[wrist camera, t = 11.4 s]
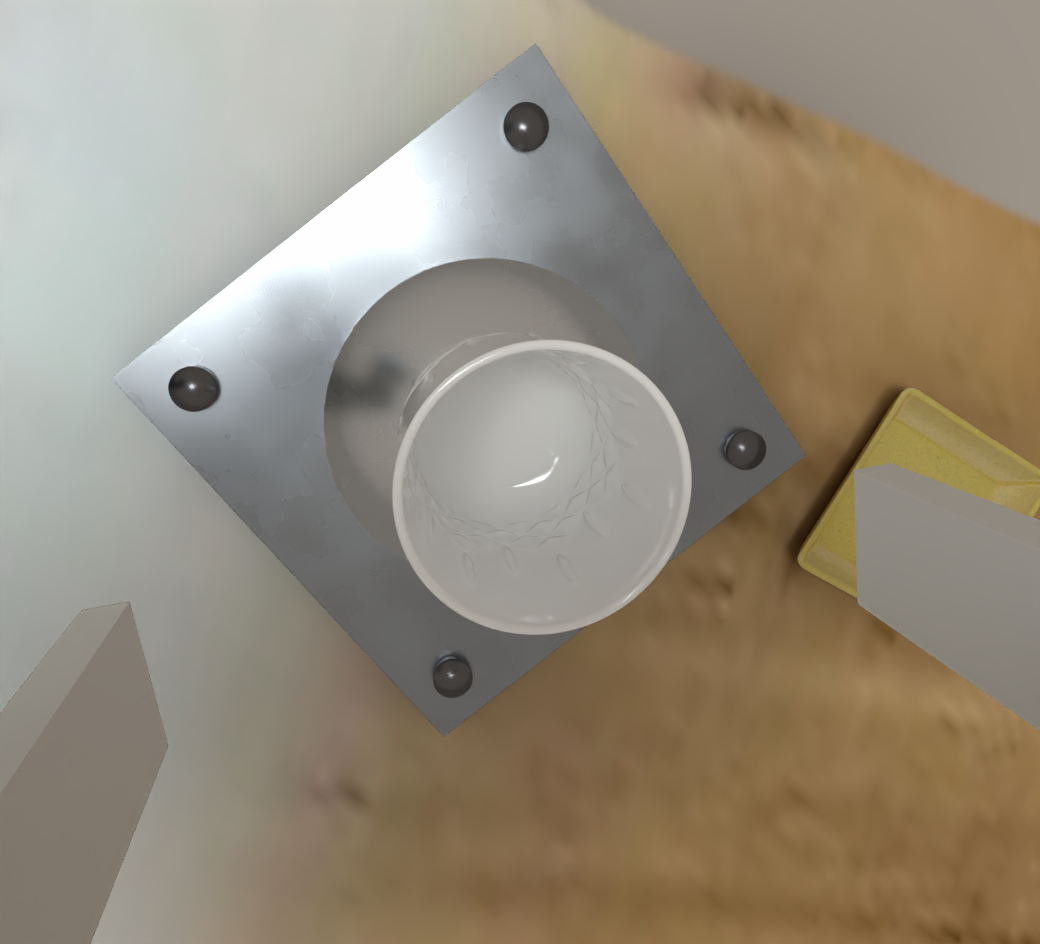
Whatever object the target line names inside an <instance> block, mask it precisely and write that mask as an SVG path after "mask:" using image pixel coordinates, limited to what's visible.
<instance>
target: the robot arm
mask: <svg viewBox="0 0 1040 944" xmlns="http://www.w3.org/2000/svg"><path fill="white" fill-rule="evenodd" d="M854 491H855V529H856V567H857V604H858V605H860V606H861V607H863V608H864V609H865V610H867V611H868V612H870V613H871V614H873V615H874V616H875V617H877V618H878V619H880V620H881V621H883V622H884V623H886V624H887V625H888V626H890V627H891V628H893V629H894V630H896V631H897V632H898V633H900V634H901V635H903V636H904V637H906V638H907V639H909V640H910V641H911V642H913V643H914V644H916V645H917V646H919V647H920V648H922V649H923V650H924V651H926V652H927V653H929V654H930V655H932V656H933V657H934V658H936V659H937V660H939V661H940V662H942V663H943V664H945V665H946V666H947V667H949V668H950V669H952V670H953V671H955V672H956V673H957V674H959V675H960V676H962V677H963V678H965V679H966V680H968V681H969V682H970V683H972V684H973V685H975V686H976V687H978V688H979V689H981V690H982V691H983V692H985V693H986V694H988V695H989V696H991V697H992V698H993V699H995V700H996V701H998V702H999V703H1001V704H1002V705H1004V706H1005V707H1006V708H1008V709H1009V710H1011V711H1012V712H1014V713H1015V714H1016V715H1018V716H1019V717H1021V718H1022V719H1024V720H1025V721H1027V722H1028V723H1029V724H1031V725H1032V726H1034V727H1035V728H1037V729H1038V730H1040V520H1037V519H1035V518H1032V517H1030V516H1027V515H1025V514H1022V513H1019V512H1017V511H1014V510H1012V509H1009V508H1006V507H1004V506H1001V505H999V504H996V503H993V502H991V501H988V500H986V499H983V498H980V497H978V496H975V495H973V494H970V493H967V492H965V491H962V490H960V489H957V488H954V487H952V486H949V485H947V484H944V483H942V482H939V481H936V480H934V479H931V478H929V477H926V476H923V475H921V474H918V473H916V472H913V471H910V470H908V469H905V468H903V467H900V466H897V465H895V464H892V463H889V464H883V465H878V466H872V467H867V468H861V469H856V470H854ZM167 748H168V743H167V739H166V735H165V732H164V728H163V724H162V721H161V717H160V713H159V709H158V706H157V702H156V698H155V694H154V691H153V687H152V683H151V680H150V676H149V672H148V668H147V665H146V661H145V657H144V653H143V650H142V646H141V642H140V639H139V635H138V631H137V627H136V624H135V620H134V616H133V612H132V609H131V605H130V602H125V603H119V604H114V605H108V606H103V607H97V608H92V609H86V610H81V612H80V613H79V614H78V615H77V617H76V618H75V619H74V620H73V622H72V623H71V624H70V626H69V627H68V628H67V629H66V631H65V632H64V633H63V634H62V636H61V637H60V638H59V639H58V641H57V642H56V643H55V644H54V646H53V647H52V648H51V650H50V651H49V652H48V653H47V655H46V656H45V657H44V658H43V660H42V661H41V662H40V663H39V665H38V666H37V667H36V669H35V670H34V671H33V672H32V674H31V675H30V676H29V677H28V679H27V680H26V681H25V682H24V684H23V685H22V686H21V687H20V689H19V690H18V691H17V693H16V694H15V695H14V696H13V698H12V699H11V700H10V701H9V703H8V704H7V705H6V706H5V708H4V709H3V710H2V712H1V713H0V944H91V941H92V939H93V936H94V933H95V931H96V928H97V926H98V923H99V921H100V918H101V916H102V913H103V911H104V908H105V906H106V903H107V900H108V898H109V895H110V893H111V890H112V888H113V885H114V883H115V880H116V878H117V875H118V872H119V870H120V867H121V865H122V862H123V860H124V857H125V855H126V852H127V850H128V847H129V844H130V842H131V839H132V837H133V834H134V832H135V829H136V827H137V824H138V822H139V819H140V816H141V814H142V811H143V809H144V806H145V804H146V801H147V799H148V796H149V794H150V791H151V789H152V786H153V783H154V781H155V778H156V776H157V773H158V771H159V768H160V766H161V763H162V761H163V758H164V755H165V753H166V750H167Z"/></svg>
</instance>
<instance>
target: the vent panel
mask: <svg viewBox="0 0 1040 944" xmlns="http://www.w3.org/2000/svg"><path fill="white" fill-rule="evenodd" d="M498 332H520V333H533V334H540V335H545V336H549V337H554V338H559V339H563V340H568V341H574V342H579V343H584V344H588V345H591V346H595V347H598V348H600V349H603V350H606V351H608V352H610V353H612V354H614V355H616V356H618V357H620V358H622V359H624V360H625V361H627V362H628V363H630V364H631V365H633V366H634V367H636V368H637V369H638V370H640V371H641V372H642V373H643V374H644V375H646V376H647V377H648V378H649V379H650V380H651V381H652V382H653V383H654V384H655V385H656V386H657V388H658V389H659V390H660V391H661V392H662V394H663V395H664V396H665V398H666V399H667V401H668V402H669V404H670V405H671V407H672V408H673V410H674V412H675V414H676V416H677V418H678V420H679V422H680V424H681V427H682V429H683V432H684V435H685V438H686V441H687V445H688V449H689V454H690V461H691V471H692V488H691V499H690V505H689V510H688V515H687V519H686V522H685V525H684V528H683V531H682V534H681V536H680V539H679V541H678V543H677V545H676V547H675V549H674V551H673V553H672V555H671V556H670V558H669V560H668V561H667V563H668V562H669V561H670V560H672V559H673V558H674V557H676V556H677V555H678V554H679V553H681V552H682V551H683V550H685V549H686V548H687V547H689V546H690V545H691V544H692V543H694V542H695V541H696V540H698V539H699V538H700V537H701V536H703V535H704V534H705V533H707V532H708V531H709V530H710V529H712V528H713V527H714V526H716V525H717V524H718V523H719V522H721V521H722V520H723V519H725V518H726V517H727V516H728V515H730V514H731V513H732V512H734V511H735V510H736V509H737V508H739V507H740V506H741V505H743V504H744V503H745V502H746V501H748V500H749V499H750V498H752V497H753V496H754V495H755V494H757V493H758V492H759V491H761V490H762V489H763V488H764V487H766V486H767V485H768V484H770V483H771V482H772V481H773V480H775V479H776V478H777V477H779V476H780V475H781V474H782V473H784V472H785V471H786V470H788V469H789V468H790V467H791V466H793V465H794V464H795V463H797V462H798V461H799V460H801V459H802V458H803V457H804V456H806V455H805V453H804V452H803V450H802V449H801V447H800V446H799V444H798V443H797V441H796V440H795V438H794V437H793V435H792V434H791V432H790V431H789V429H788V427H787V426H786V424H785V423H784V421H783V420H782V418H781V417H780V415H779V414H778V412H777V411H776V409H775V408H774V406H773V405H772V403H771V402H770V400H769V398H768V397H767V395H766V394H765V392H764V391H763V389H762V388H761V386H760V385H759V383H758V382H757V380H756V379H755V377H754V376H753V374H752V373H751V371H750V369H749V368H748V366H747V365H746V363H745V362H744V360H743V359H742V357H741V356H740V354H739V353H738V351H737V350H736V348H735V347H734V345H733V344H732V342H731V341H730V339H729V337H728V336H727V334H726V333H725V331H724V330H723V328H722V327H721V325H720V324H719V322H718V321H717V319H716V318H715V316H714V315H713V313H712V312H711V310H710V308H709V307H708V305H707V304H706V302H705V301H704V299H703V298H702V296H701V295H700V293H699V292H698V290H697V289H696V287H695V286H694V284H693V283H692V281H691V279H690V278H689V276H688V275H687V273H686V272H685V270H684V269H683V267H682V266H681V264H680V263H679V261H678V260H677V258H676V257H675V255H674V254H673V252H672V250H671V249H670V247H669V246H668V244H667V243H666V241H665V240H664V238H663V237H662V235H661V234H660V232H659V231H658V229H657V228H656V226H655V225H654V223H653V221H652V220H651V218H650V217H649V215H648V214H647V212H646V211H645V209H644V208H643V206H642V205H641V203H640V202H639V200H638V199H637V197H636V196H635V194H634V192H633V191H632V189H631V188H630V186H629V185H628V183H627V182H626V180H625V179H624V177H623V176H622V174H621V173H620V171H619V170H618V168H617V167H616V165H615V164H614V162H613V160H612V159H611V157H610V156H609V154H608V153H607V151H606V150H605V148H604V147H603V145H602V144H601V142H600V141H599V139H598V138H597V136H596V135H595V133H594V131H593V130H592V128H591V127H590V125H589V124H588V122H587V121H586V119H585V118H584V116H583V115H582V113H581V112H580V110H579V109H578V107H577V106H576V104H575V102H574V101H573V99H572V98H571V96H570V95H569V93H568V92H567V90H566V89H565V87H564V86H563V84H562V83H561V81H560V80H559V78H558V77H557V75H556V73H555V72H554V70H553V69H552V67H551V66H550V64H549V63H548V61H547V60H546V58H545V57H544V55H543V54H542V52H541V51H540V49H539V48H538V46H537V44H536V43H535V44H534V45H533V46H532V47H530V48H529V49H528V50H527V51H525V52H524V53H523V54H521V55H520V56H519V57H518V58H516V59H515V60H514V61H513V62H511V63H510V64H509V65H507V66H506V67H505V68H504V69H502V70H501V71H500V72H499V73H497V74H496V75H495V76H494V77H492V78H491V79H490V80H488V81H487V82H486V83H485V84H483V85H482V86H481V87H480V88H478V89H477V90H476V91H474V92H473V93H472V94H471V95H469V96H468V97H467V98H466V99H464V100H463V101H462V102H461V103H459V104H458V105H457V106H455V107H454V108H453V109H452V110H450V111H449V112H448V113H447V114H445V115H444V116H443V117H442V118H440V119H439V120H438V121H436V122H435V123H434V124H433V125H431V126H430V127H429V128H428V129H426V130H425V131H424V132H422V133H421V134H420V135H419V136H417V137H416V138H415V139H414V140H412V141H411V142H410V143H409V144H407V145H406V146H405V147H403V148H402V149H401V150H400V151H398V152H397V153H396V154H395V155H393V156H392V157H391V158H389V159H388V160H387V161H386V162H384V163H383V164H382V165H381V166H379V167H378V168H377V169H376V170H374V171H373V172H372V173H370V174H369V175H368V176H367V177H365V178H364V179H363V180H362V181H360V182H359V183H358V184H356V185H355V186H354V187H353V188H351V189H350V190H349V191H348V192H346V193H345V194H344V195H343V196H341V197H340V198H339V199H337V200H336V201H335V202H334V203H332V204H331V205H330V206H329V207H327V208H326V209H325V210H324V211H322V212H321V213H320V214H318V215H317V216H316V217H315V218H313V219H312V220H311V221H310V222H308V223H307V224H306V225H304V226H303V227H302V228H301V229H299V230H298V231H297V232H296V233H294V234H293V235H292V236H291V237H289V238H288V239H287V240H285V241H284V242H283V243H282V244H280V245H279V246H278V247H277V248H275V249H274V250H273V251H271V252H270V253H269V254H268V255H266V256H265V257H264V258H263V259H261V260H260V261H259V262H258V263H256V264H255V265H254V266H252V267H251V268H250V269H249V270H247V271H246V272H245V273H244V274H242V275H241V276H240V277H239V278H237V279H236V280H235V281H233V282H232V283H231V284H230V285H228V286H227V287H226V288H225V289H223V290H222V291H221V292H219V293H218V294H217V295H216V296H214V297H213V298H212V299H211V300H209V301H208V302H207V303H206V304H204V305H203V306H202V307H200V308H199V309H198V310H197V311H195V312H194V313H193V314H192V315H190V316H189V317H188V318H186V319H185V320H184V321H183V322H181V323H180V324H179V325H178V326H176V327H175V328H174V329H173V330H171V331H170V332H169V333H167V334H166V335H165V336H164V337H162V338H161V339H160V340H159V341H157V342H156V343H155V344H154V345H152V346H151V347H150V348H148V349H147V350H146V351H145V352H143V353H142V354H141V355H140V356H138V357H137V358H136V359H134V360H133V361H132V362H131V363H129V364H128V365H127V366H126V367H124V368H123V369H122V370H121V371H119V372H118V373H117V374H115V375H114V376H113V377H112V378H111V379H112V380H113V381H114V382H115V383H116V384H117V385H118V386H119V388H120V389H121V390H122V391H123V392H124V393H125V394H126V395H127V396H128V397H129V398H130V399H131V400H132V402H133V403H134V404H135V405H136V406H137V407H138V408H139V409H140V410H141V411H142V412H143V413H144V414H145V416H146V417H147V418H148V419H149V420H150V421H151V422H152V423H153V424H154V425H155V426H156V427H157V428H158V430H159V431H160V432H161V433H162V434H163V435H164V436H165V437H166V438H167V439H168V440H169V441H170V442H171V444H172V445H173V446H174V447H175V448H176V449H177V450H178V451H179V452H180V453H181V454H182V455H183V456H184V458H185V459H186V460H187V461H188V462H189V463H190V464H191V465H192V466H193V467H194V468H195V469H196V470H197V472H198V473H199V474H200V475H201V476H202V477H203V478H204V479H205V480H206V481H207V482H208V483H209V484H210V486H211V487H212V488H213V489H214V490H215V491H216V492H217V493H218V494H219V495H220V496H221V497H222V498H223V500H224V501H225V502H226V503H227V504H228V505H229V506H230V507H231V508H232V509H233V510H234V511H235V512H236V514H237V515H238V516H239V517H240V518H241V519H242V520H243V521H244V522H245V523H246V524H247V525H248V526H249V528H250V529H251V530H252V531H253V532H254V533H255V534H256V535H257V536H258V537H259V538H260V539H261V540H262V542H263V543H264V544H265V545H266V546H267V547H268V548H269V549H270V550H271V551H272V552H273V553H274V554H275V556H276V557H277V558H278V559H279V560H280V561H281V562H282V563H283V564H284V565H285V566H286V567H287V568H288V569H289V571H290V572H291V573H292V574H293V575H294V576H295V577H296V578H297V579H298V580H299V581H300V582H301V583H302V585H303V586H304V587H305V588H306V589H307V590H308V591H309V592H310V593H311V594H312V595H313V596H314V597H315V599H316V600H317V601H318V602H319V603H320V604H321V605H322V606H323V607H324V608H325V609H326V610H327V611H328V613H329V614H330V615H331V616H332V617H333V618H334V619H335V620H336V621H337V622H338V623H339V624H340V625H341V627H342V628H343V629H344V630H345V631H346V632H347V633H348V634H349V635H350V636H351V637H352V638H353V639H354V641H355V642H356V643H357V644H358V645H359V646H360V647H361V648H362V649H363V650H364V651H365V652H366V653H367V655H368V656H369V657H370V658H371V659H372V660H373V661H374V662H375V663H376V664H377V665H378V666H379V667H380V669H381V670H382V671H383V672H384V673H385V674H386V675H387V676H388V677H389V678H390V679H391V680H392V681H393V683H394V684H395V685H396V686H397V687H398V688H399V689H400V690H401V691H402V692H403V693H404V694H405V695H406V697H407V698H408V699H409V700H410V701H411V702H412V703H413V704H414V705H415V706H416V707H417V708H418V709H419V711H420V712H421V713H422V714H423V715H424V716H425V717H426V718H427V719H428V720H429V721H430V722H431V723H432V725H433V726H434V727H435V728H436V729H437V730H438V731H439V732H440V733H441V734H442V735H443V736H445V735H446V734H448V733H449V732H450V731H452V730H453V729H454V728H455V727H457V726H458V725H459V724H461V723H462V722H463V721H464V720H466V719H467V718H468V717H470V716H471V715H472V714H474V713H475V712H476V711H477V710H479V709H480V708H481V707H483V706H484V705H485V704H486V703H488V702H489V701H490V700H492V699H493V698H494V697H495V696H497V695H498V694H499V693H501V692H502V691H503V690H504V689H506V688H507V687H508V686H510V685H511V684H512V683H513V682H515V681H516V680H517V679H519V678H520V677H521V676H522V675H524V674H525V673H526V672H528V671H529V670H530V669H531V668H533V667H534V666H535V665H537V664H538V663H539V662H540V661H542V660H543V659H544V658H546V657H547V656H548V655H549V654H551V653H552V652H553V651H555V650H556V649H557V648H558V647H560V646H561V645H562V644H564V643H565V642H566V641H567V640H569V639H570V638H571V637H573V636H574V635H575V634H576V633H578V632H579V631H580V630H582V629H583V628H584V627H586V626H584V627H581V628H578V629H574V630H570V631H566V632H561V633H554V634H544V635H525V634H515V633H508V632H503V631H499V630H495V629H491V628H488V627H485V626H483V625H480V624H478V623H475V622H473V621H471V620H469V619H467V618H465V617H463V616H462V615H460V614H458V613H457V612H455V611H454V610H452V609H451V608H449V607H448V606H447V605H445V604H444V603H443V602H442V601H440V600H439V599H438V598H437V597H436V596H435V595H434V594H433V593H432V592H431V591H430V590H429V589H428V588H427V587H426V586H425V584H424V583H423V582H422V581H421V579H420V578H419V577H418V575H417V574H416V572H415V571H414V569H413V568H412V566H411V564H410V563H409V561H408V559H407V557H406V555H405V553H404V550H403V548H402V545H401V543H400V540H399V536H398V533H397V529H396V525H395V520H394V514H393V503H392V485H393V474H394V460H395V445H396V436H397V430H398V425H399V420H400V415H401V411H402V408H403V405H404V403H405V401H406V398H407V396H408V393H409V390H410V386H411V383H412V380H413V379H414V378H415V377H416V376H417V374H418V373H419V372H420V371H421V370H422V369H423V368H424V367H425V365H426V364H427V363H428V362H429V361H430V360H431V359H432V358H433V356H434V355H435V354H436V353H437V352H438V351H439V350H440V349H441V348H443V347H446V346H448V345H451V344H453V343H456V342H458V341H460V340H463V339H465V338H468V337H470V336H472V335H475V334H477V333H498ZM667 563H666V564H667Z"/></svg>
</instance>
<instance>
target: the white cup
mask: <svg viewBox="0 0 1040 944" xmlns="http://www.w3.org/2000/svg"><path fill="white" fill-rule="evenodd" d="M691 488H692V471H691V461H690V454H689V449H688V445H687V441H686V438H685V435H684V432H683V429H682V427H681V424H680V422H679V420H678V418H677V416H676V414H675V412H674V410H673V408H672V407H671V405H670V404H669V402H668V401H667V399H666V398H665V396H664V395H663V394H662V392H661V391H660V390H659V389H658V388H657V386H656V385H655V384H654V383H653V382H652V381H651V380H650V379H649V378H648V377H647V376H646V375H644V374H643V373H642V372H641V371H640V370H638V369H637V368H636V367H634V366H633V365H631V364H630V363H628V362H627V361H625V360H624V359H622V358H620V357H618V356H616V355H614V354H612V353H610V352H608V351H606V350H603V349H600V348H598V347H595V346H591V345H588V344H584V343H579V342H574V341H568V340H563V339H559V338H554V337H549V336H545V335H540V334H533V333H520V332H498V333H477V334H475V335H472V336H470V337H468V338H465V339H463V340H460V341H458V342H456V343H453V344H451V345H448V346H446V347H443V348H441V349H440V350H439V351H438V352H437V353H436V354H435V355H434V356H433V358H432V359H431V360H430V361H429V362H428V363H427V364H426V365H425V367H424V368H423V369H422V370H421V371H420V372H419V373H418V374H417V376H416V377H415V378H414V379H413V380H412V383H411V386H410V390H409V393H408V396H407V398H406V401H405V403H404V405H403V408H402V411H401V415H400V420H399V425H398V430H397V436H396V445H395V460H394V474H393V485H392V503H393V514H394V520H395V525H396V529H397V533H398V536H399V540H400V543H401V545H402V548H403V550H404V553H405V555H406V557H407V559H408V561H409V563H410V564H411V566H412V568H413V569H414V571H415V572H416V574H417V575H418V577H419V578H420V579H421V581H422V582H423V583H424V584H425V586H426V587H427V588H428V589H429V590H430V591H431V592H432V593H433V594H434V595H435V596H436V597H437V598H438V599H439V600H440V601H442V602H443V603H444V604H445V605H447V606H448V607H449V608H451V609H452V610H454V611H455V612H457V613H458V614H460V615H462V616H463V617H465V618H467V619H469V620H471V621H473V622H475V623H478V624H480V625H483V626H485V627H488V628H491V629H495V630H499V631H503V632H508V633H515V634H525V635H544V634H554V633H561V632H566V631H570V630H574V629H578V628H581V627H584V626H587V625H590V624H592V623H595V622H597V621H599V620H601V619H603V618H605V617H607V616H609V615H611V614H613V613H615V612H616V611H618V610H619V609H621V608H622V607H624V606H625V605H627V604H628V603H629V602H631V601H632V600H633V599H634V598H636V597H637V596H638V595H639V594H640V593H641V592H642V591H643V590H645V589H646V588H647V587H648V585H649V584H650V583H651V582H652V581H653V580H654V579H655V578H656V576H657V575H658V574H659V573H660V571H661V570H662V569H663V567H664V566H665V564H666V563H667V561H668V560H669V558H670V556H671V555H672V553H673V551H674V549H675V547H676V545H677V543H678V541H679V539H680V536H681V534H682V531H683V528H684V525H685V522H686V519H687V515H688V510H689V505H690V499H691Z"/></svg>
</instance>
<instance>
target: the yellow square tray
mask: <svg viewBox="0 0 1040 944" xmlns="http://www.w3.org/2000/svg"><path fill="white" fill-rule="evenodd" d="M889 463H892V464H895V465H897V466H900V467H903V468H905V469H908V470H910V471H913V472H916V473H918V474H921V475H923V476H926V477H929V478H931V479H934V480H936V481H939V482H942V483H944V484H947V485H949V486H952V487H954V488H957V489H960V490H962V491H965V492H967V493H970V494H973V495H975V496H978V497H980V498H983V499H986V500H988V501H991V502H993V503H996V504H999V505H1001V506H1004V507H1006V508H1009V509H1012V510H1014V511H1017V512H1019V513H1022V514H1025V515H1027V516H1030V517H1032V518H1033V516H1034V515H1035V513H1036V512H1037V510H1038V509H1039V507H1040V469H1038V468H1037V467H1035V466H1034V465H1032V464H1031V463H1029V462H1028V461H1026V460H1025V459H1023V458H1021V457H1020V456H1019V455H1017V454H1015V453H1014V452H1012V451H1010V450H1009V449H1008V448H1006V447H1005V446H1003V445H1002V444H1000V443H998V442H997V441H996V440H994V439H992V438H990V437H988V436H987V435H986V434H984V433H983V432H981V431H980V430H978V429H977V428H975V427H974V426H972V425H971V424H969V423H968V422H966V421H965V420H963V419H961V418H960V417H959V416H957V415H955V414H954V413H952V412H951V411H950V410H948V409H947V408H945V407H944V406H942V405H940V404H939V403H938V402H936V401H935V400H933V399H932V398H930V397H928V396H927V395H925V394H924V393H923V392H921V391H920V390H918V389H916V388H906V389H905V390H903V391H902V392H901V393H900V394H899V395H898V396H897V398H896V399H895V400H894V401H893V403H892V404H891V406H890V407H889V409H888V411H887V412H886V414H885V415H884V417H883V419H882V420H881V422H880V423H879V425H878V427H877V428H876V430H875V431H874V433H873V434H872V436H871V438H870V439H869V441H868V442H867V444H866V446H865V447H864V449H863V450H862V452H861V453H860V455H859V456H858V458H857V460H856V461H855V463H854V464H853V466H852V468H851V469H850V471H849V472H848V474H847V475H846V477H845V479H844V480H843V482H842V483H841V485H840V486H839V488H838V489H837V491H836V493H835V494H834V496H833V497H832V499H831V500H830V502H829V504H828V505H827V507H826V508H825V510H824V512H823V513H822V515H821V516H820V518H819V519H818V521H817V523H816V524H815V526H814V527H813V529H812V531H811V532H810V534H809V535H808V537H807V538H806V540H805V542H804V543H803V545H802V546H801V549H800V551H799V554H798V557H797V561H798V563H799V565H800V566H801V567H802V568H803V569H805V570H807V571H808V572H810V573H811V574H813V575H815V576H817V577H819V578H820V579H822V580H824V581H826V582H828V583H830V584H831V585H833V586H835V587H837V588H839V589H841V590H842V591H845V592H846V593H848V594H850V595H851V596H853V597H855V598H857V567H856V529H855V491H854V470H856V469H861V468H867V467H872V466H878V465H883V464H889Z"/></svg>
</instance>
